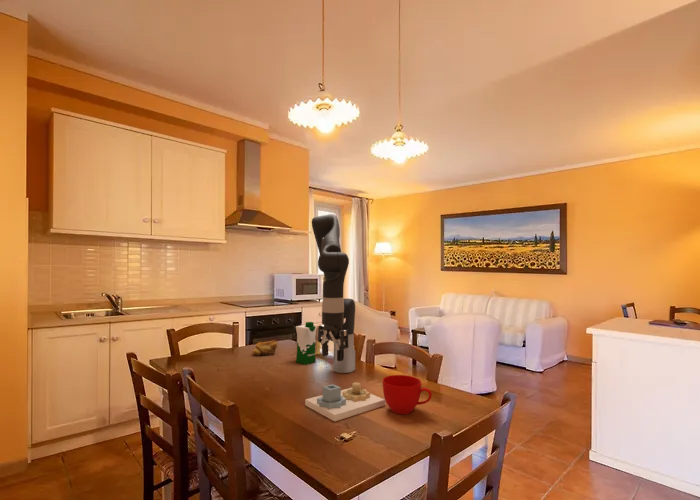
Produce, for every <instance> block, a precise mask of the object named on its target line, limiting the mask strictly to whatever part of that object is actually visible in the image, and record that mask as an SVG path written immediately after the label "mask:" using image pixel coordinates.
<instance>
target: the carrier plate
mask: <svg viewBox="0 0 700 500" xmlns="http://www.w3.org/2000/svg"><path fill="white" fill-rule="evenodd" d="M351 384H352V386H351V387H349V388H348V387H347V388H345V389H341V396H343V399H346V404H345V405H341V408H331V409H328V408H326V407H319V404H318V403H317V398H320V397H322V395H317V396H314V397H309V398H307V399H305V402H304V403H305V406H306V407H307V408H309V409H311V410H313V411H314V412H317V413H318V414H320V415H322V416H324V417H326V418H327V419H329V420H331V421H333V422H337V421H340V420H344V419H347V418H350V417H353V416H356V415H359V414H363V413H366V412H369V411H371V410H375V409H379V408H382V407H384V406H385V405H386V400H385V398H382V397H379V396H378V395H374V394H373V393H371V392H369V391H367V389H364V388H363V389H361V383H360V382H357V381H355V382H352V383H351Z"/></svg>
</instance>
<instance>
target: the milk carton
mask: <svg viewBox="0 0 700 500" xmlns="http://www.w3.org/2000/svg"><path fill="white" fill-rule="evenodd" d="M314 325H315V323H314V322H313V321H307V322H305V324H301V325H296V326H295V330H296V358H295V363H297V364H302V365H307V366H308V365H310V364H313V363H314V364H315V363H317V362H316V354H315V334H316V329H317V326H314Z"/></svg>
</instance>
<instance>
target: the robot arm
mask: <svg viewBox="0 0 700 500" xmlns="http://www.w3.org/2000/svg"><path fill="white" fill-rule="evenodd" d="M311 227H312V232H313V235H314V238H315V241H316V246H317V249H318V252H319V255H318V256H319V257H318V258H317V259H318V260H317V267H318V270H320V271H321V272H323V276H324V279H325V280H324V281H323V283H322V302H321V324H320V325H319V324H318V325H319V327H318V342H320V346H321V356H323V357H327V356H329V343H330V342H332V343H333V372H335V373H338V374H349V373H353V372H354V371H356V349H355V348H354V347H355V345H354V344H355V339H354V338H355V337H354V336H355V323H356V322H355V319H356V303H355V300H354V298H344V284H345V279H346V274H347V271H348V268H349V265H350V264H349V263H350V258H349V255H347V253H346V252H343V251H342V247H341V244H340V237H341V236H340V234H341V232H340V231H341V230H340V223H339V219H338V217H337V216H336V214H334V213H328V214H325V215H320V216H315V217H313V218H311Z"/></svg>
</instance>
